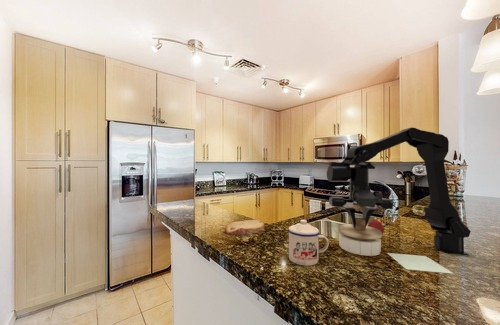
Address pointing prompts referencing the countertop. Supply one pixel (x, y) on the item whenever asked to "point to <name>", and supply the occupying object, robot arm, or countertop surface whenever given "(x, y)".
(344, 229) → the lid
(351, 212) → the robot arm
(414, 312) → the countertop surface
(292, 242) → the teacup with lid
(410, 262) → the mat
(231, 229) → the bread slice
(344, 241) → the bowl
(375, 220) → the onion
